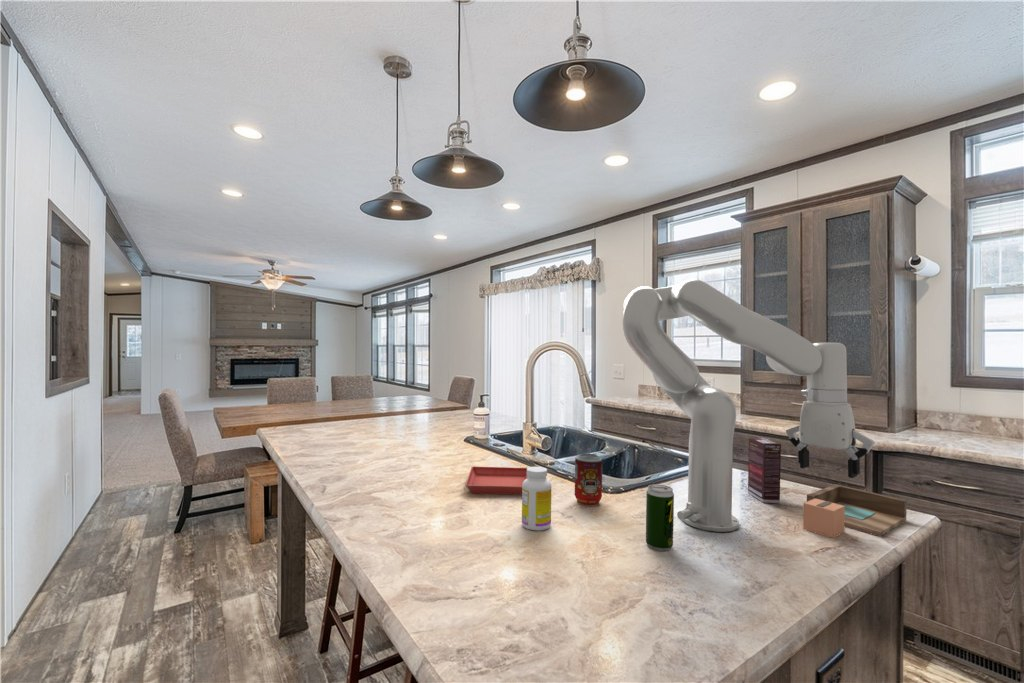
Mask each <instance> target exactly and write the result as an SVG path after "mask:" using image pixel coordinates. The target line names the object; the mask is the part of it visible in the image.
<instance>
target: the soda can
mask: <svg viewBox="0 0 1024 683" xmlns="http://www.w3.org/2000/svg"><path fill="white" fill-rule="evenodd" d="M574 461H575V462H574V497H575V498H576V502H577V504H578V503H579V504H578V505H581V506H585V507H595V506H598V505H599V504H600V501H601V500H602V497H603V458H602V457H600V455H597V454H595V453H590V452H589V453H588V452H585V453H579V454H577V456H576V457H575V458H574Z"/></svg>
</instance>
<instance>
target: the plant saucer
mask: <svg viewBox="0 0 1024 683" xmlns="http://www.w3.org/2000/svg"><path fill="white" fill-rule="evenodd" d="M527 468H528V467H506V466H504V467H503V466H502V467H501V466H500V467H499V466H472V467H470V469H469V470H470V471H469V473H468V476H467V480H466V482H465V487H466V488H467V489H468V491H469V492H470V493H471V494H480V495H481V494H489V495H490V494H491V495H493V494H494V495H495V494H496V495H522V483H523V481H524V480H525V479H527V478H528V476H527Z"/></svg>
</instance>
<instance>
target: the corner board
mask: <svg viewBox="0 0 1024 683" xmlns="http://www.w3.org/2000/svg"><path fill="white" fill-rule="evenodd" d="M815 498H816V499H820V500H824V501H827V502H831V503H835V504H839V505H843V506H845V522H844V527H846V528H849V527H850V529H852V528H853V530H856V529H857V530H856V531H859V530H861V531H860V532H863V531H864V533H866V532H868V534H870V533H872V534H871V535H873V534H875V535H874V536H877V535H879V536H878V537H880V536H881V537H882V535H883V534H884V535H886V534H887V533H889V532H890V531H889V530H891V529H892V530H894V529H896V528H897V527H899V526H900V524H901V525H903V524H904V523H906V522H907V514H908V513H907V512H908V511H907V510H908V509H907V507H908V506H907V505H908V504H907V503H908V502H907V500H906V499H902V498H898V497H895V496H891V495H890V496H889V495H885V494H881V493H876V492H872V491H867V490H863V489H859V488H854V487H849V486H846V485H841V484H836V483H835V484H832V485H829V486H826V487H825V488H822V489H819V490H816V491H814V492H811V493H809V494H806V502H807V501H810V500H812V499H815ZM903 522H904V523H903ZM898 525H899V526H898ZM896 526H897V527H896ZM895 527H896V528H895ZM893 528H894V529H893ZM892 530H891V531H892ZM888 531H889V532H888ZM886 532H887V533H886ZM885 533H886V534H885ZM884 535H883V536H884Z"/></svg>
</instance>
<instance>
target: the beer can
mask: <svg viewBox="0 0 1024 683" xmlns="http://www.w3.org/2000/svg"><path fill="white" fill-rule="evenodd" d="M673 490H674V489H673V487H671V486H670V485H664V484H659V483H658V484H657V483H656V484H655V483H653V484H649V485H648V486H647V490H646V496H645V497H646V500H645V501H646V504H645V505H646V507H645V508H646V509H645V544H646V545H647V547H648V548H649V549H651V550H653V551H657V552H669V551H671V550H672V548H673V546H674V519H675V518H674V514H675V513H674V511H675V509H674V508H675V507H674V506H675V503H674V502H675V493H674V491H673Z"/></svg>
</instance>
